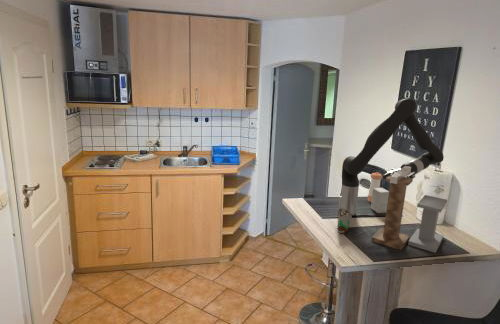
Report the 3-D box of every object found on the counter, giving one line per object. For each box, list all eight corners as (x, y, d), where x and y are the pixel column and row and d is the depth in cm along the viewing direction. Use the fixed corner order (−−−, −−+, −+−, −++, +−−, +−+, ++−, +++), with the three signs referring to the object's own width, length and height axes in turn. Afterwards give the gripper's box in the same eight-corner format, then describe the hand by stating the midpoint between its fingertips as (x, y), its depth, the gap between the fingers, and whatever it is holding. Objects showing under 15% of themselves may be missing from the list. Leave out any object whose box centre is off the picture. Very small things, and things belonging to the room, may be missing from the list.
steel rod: (389, 182, 156) (390, 176, 155) (404, 171, 174) (404, 165, 174) (396, 184, 154) (397, 177, 153) (410, 172, 173) (411, 166, 172)
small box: (387, 212, 205) (390, 191, 201) (377, 213, 203) (380, 192, 200) (379, 207, 212) (382, 187, 209) (370, 208, 211) (372, 187, 208)
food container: (350, 236, 174) (353, 218, 171) (338, 235, 175) (340, 216, 172) (349, 226, 185) (351, 208, 183) (337, 224, 186) (339, 207, 184)
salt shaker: (370, 197, 228) (374, 169, 223) (381, 201, 223) (385, 172, 218) (365, 200, 223) (368, 172, 218) (376, 203, 218) (379, 174, 213)
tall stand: (371, 240, 170) (379, 178, 161) (380, 231, 180) (388, 172, 172) (401, 250, 162) (411, 185, 153) (409, 239, 172) (418, 178, 164)
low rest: (408, 244, 167) (414, 203, 162) (417, 231, 181) (423, 193, 176) (435, 252, 160) (443, 210, 155) (442, 238, 174) (450, 199, 168)
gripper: (400, 159, 189) (378, 169, 183) (423, 164, 177) (400, 175, 171) (401, 171, 192) (380, 182, 186) (424, 177, 179) (402, 189, 173)
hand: (390, 179), depth 178 cm, fingers open, 8 cm apart
